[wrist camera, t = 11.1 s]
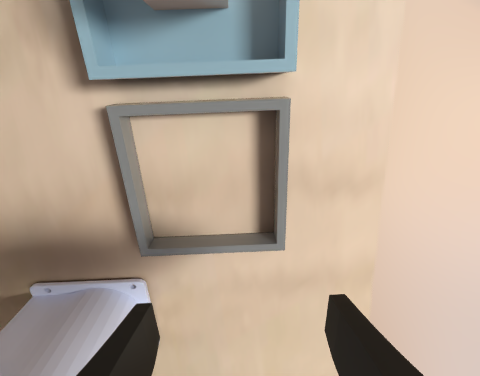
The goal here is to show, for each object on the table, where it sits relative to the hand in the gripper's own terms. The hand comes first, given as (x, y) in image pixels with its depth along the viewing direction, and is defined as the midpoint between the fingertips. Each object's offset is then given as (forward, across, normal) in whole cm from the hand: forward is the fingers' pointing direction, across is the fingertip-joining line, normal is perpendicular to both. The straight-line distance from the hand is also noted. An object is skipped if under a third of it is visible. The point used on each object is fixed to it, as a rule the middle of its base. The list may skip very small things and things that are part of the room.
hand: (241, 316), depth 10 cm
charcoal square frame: (+9, +2, -2) cm, 10 cm away
